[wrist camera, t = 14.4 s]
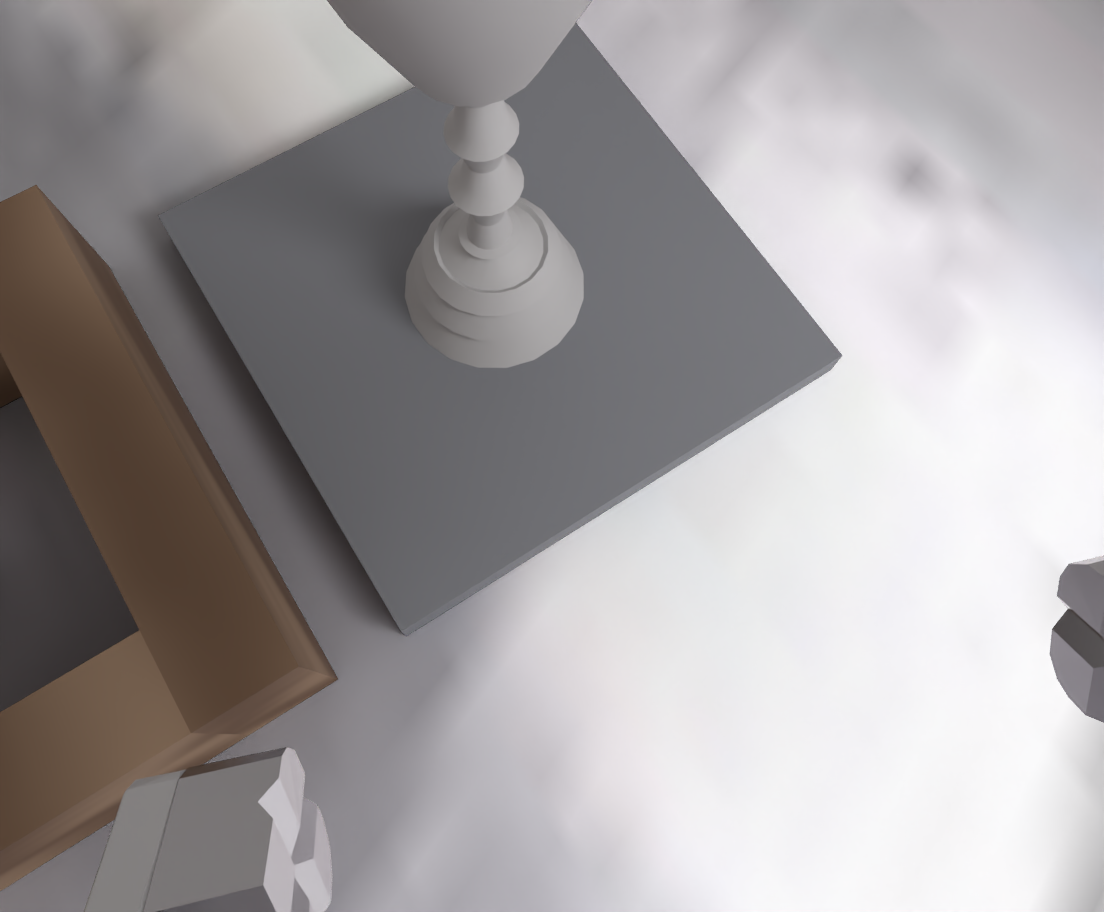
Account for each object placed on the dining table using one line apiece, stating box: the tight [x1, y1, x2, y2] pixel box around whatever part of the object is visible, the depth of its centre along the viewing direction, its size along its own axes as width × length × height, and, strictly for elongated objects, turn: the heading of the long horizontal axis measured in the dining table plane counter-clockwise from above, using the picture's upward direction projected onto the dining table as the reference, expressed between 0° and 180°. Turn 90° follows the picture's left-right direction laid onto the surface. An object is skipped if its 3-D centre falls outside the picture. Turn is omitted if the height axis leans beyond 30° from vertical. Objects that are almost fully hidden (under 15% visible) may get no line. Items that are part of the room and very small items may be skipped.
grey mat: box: [158, 23, 842, 636], centre depth 26 cm, size 14×14×1 cm
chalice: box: [327, 0, 592, 368], centre depth 17 cm, size 7×7×18 cm
